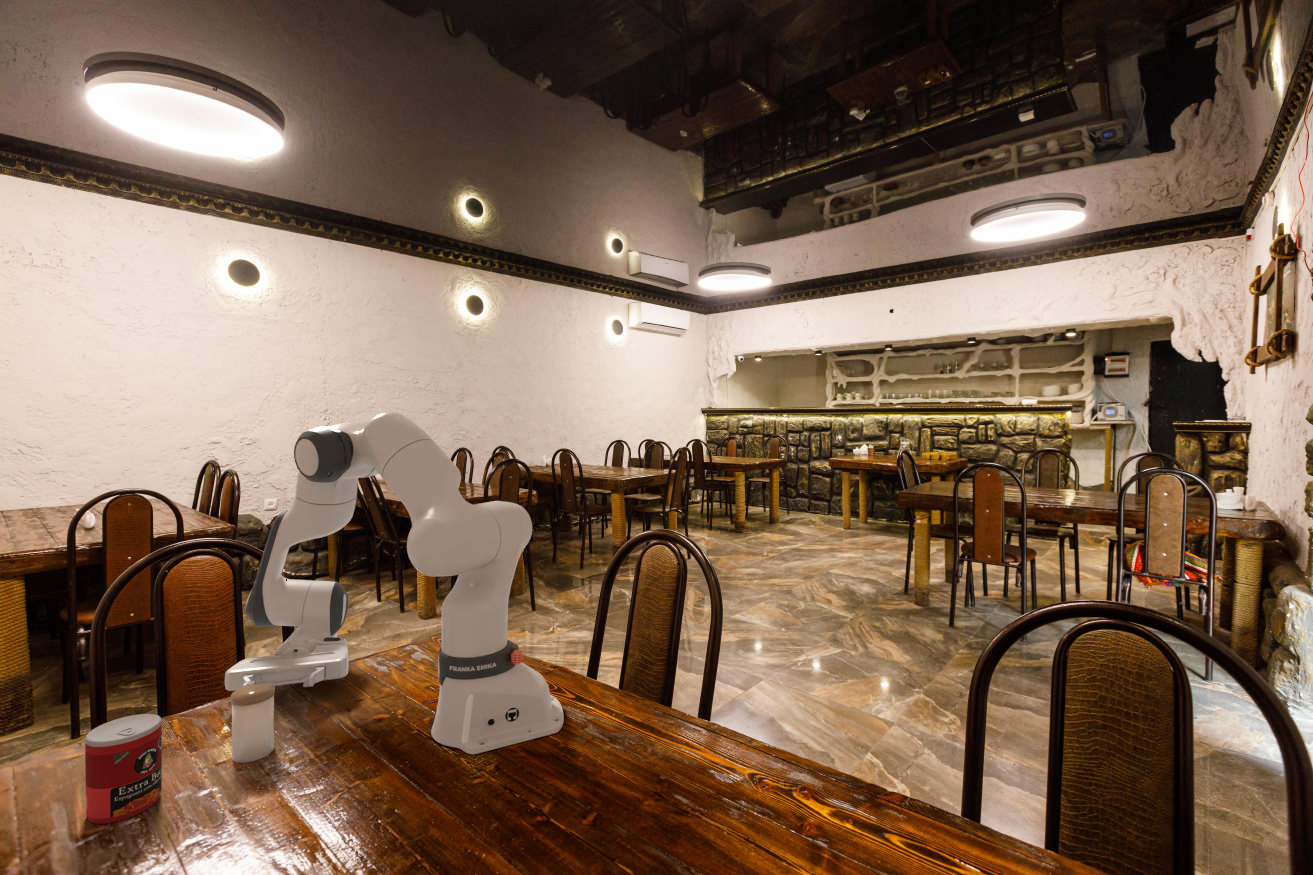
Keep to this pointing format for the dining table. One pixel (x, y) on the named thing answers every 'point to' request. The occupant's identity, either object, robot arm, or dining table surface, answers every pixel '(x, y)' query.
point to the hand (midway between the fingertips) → (277, 686)
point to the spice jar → (252, 722)
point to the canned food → (123, 767)
